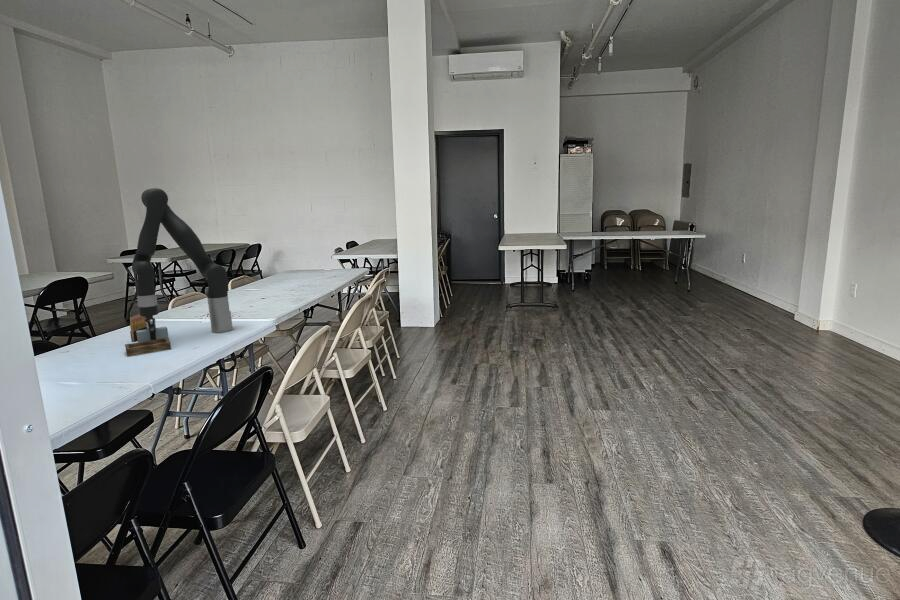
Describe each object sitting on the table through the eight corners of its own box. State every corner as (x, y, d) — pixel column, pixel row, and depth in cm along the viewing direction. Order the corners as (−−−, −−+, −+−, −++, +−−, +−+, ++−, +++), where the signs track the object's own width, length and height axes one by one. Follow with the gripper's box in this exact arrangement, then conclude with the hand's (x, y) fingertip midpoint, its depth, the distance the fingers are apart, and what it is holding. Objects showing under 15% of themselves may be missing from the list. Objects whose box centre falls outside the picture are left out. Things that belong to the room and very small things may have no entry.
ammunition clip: (135, 341, 237) (131, 316, 235) (131, 341, 237) (127, 316, 235) (150, 335, 247) (147, 311, 245) (147, 335, 248) (143, 311, 245)
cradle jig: (168, 344, 231) (167, 337, 230) (171, 349, 223) (170, 342, 222) (126, 351, 221) (124, 344, 221) (127, 356, 214) (126, 349, 213)
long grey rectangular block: (168, 340, 237) (166, 326, 236) (169, 342, 234) (167, 328, 233) (138, 345, 231) (136, 330, 229) (139, 347, 227) (136, 332, 226)
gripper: (159, 306, 225) (163, 341, 228) (155, 301, 236) (160, 335, 240) (139, 308, 221) (144, 344, 224) (137, 303, 232) (141, 337, 235)
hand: (152, 339), depth 232 cm, fingers open, 8 cm apart
